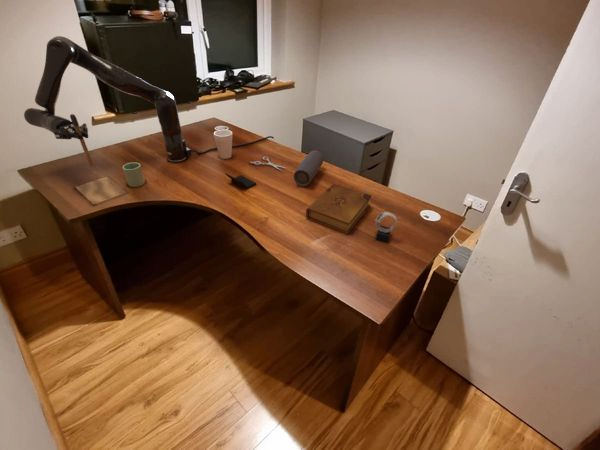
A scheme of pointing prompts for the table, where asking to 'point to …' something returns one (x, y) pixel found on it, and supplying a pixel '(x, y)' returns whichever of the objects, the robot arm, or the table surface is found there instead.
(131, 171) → the brush pot
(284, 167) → the scissors
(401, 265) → the table surface
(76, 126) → the brush
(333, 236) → the table surface
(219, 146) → the foam cup
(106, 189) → the mat
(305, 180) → the bluetooth speaker
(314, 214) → the diary
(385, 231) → the watch
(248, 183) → the dark angular piece
